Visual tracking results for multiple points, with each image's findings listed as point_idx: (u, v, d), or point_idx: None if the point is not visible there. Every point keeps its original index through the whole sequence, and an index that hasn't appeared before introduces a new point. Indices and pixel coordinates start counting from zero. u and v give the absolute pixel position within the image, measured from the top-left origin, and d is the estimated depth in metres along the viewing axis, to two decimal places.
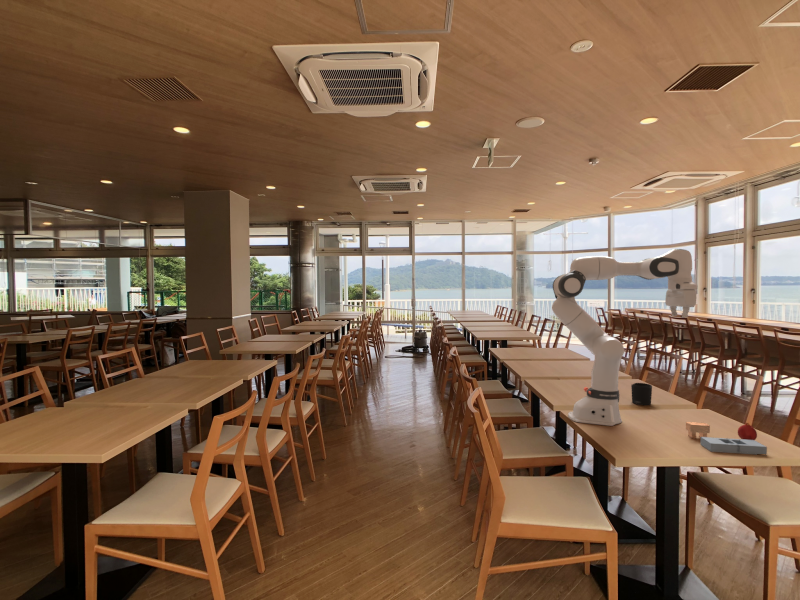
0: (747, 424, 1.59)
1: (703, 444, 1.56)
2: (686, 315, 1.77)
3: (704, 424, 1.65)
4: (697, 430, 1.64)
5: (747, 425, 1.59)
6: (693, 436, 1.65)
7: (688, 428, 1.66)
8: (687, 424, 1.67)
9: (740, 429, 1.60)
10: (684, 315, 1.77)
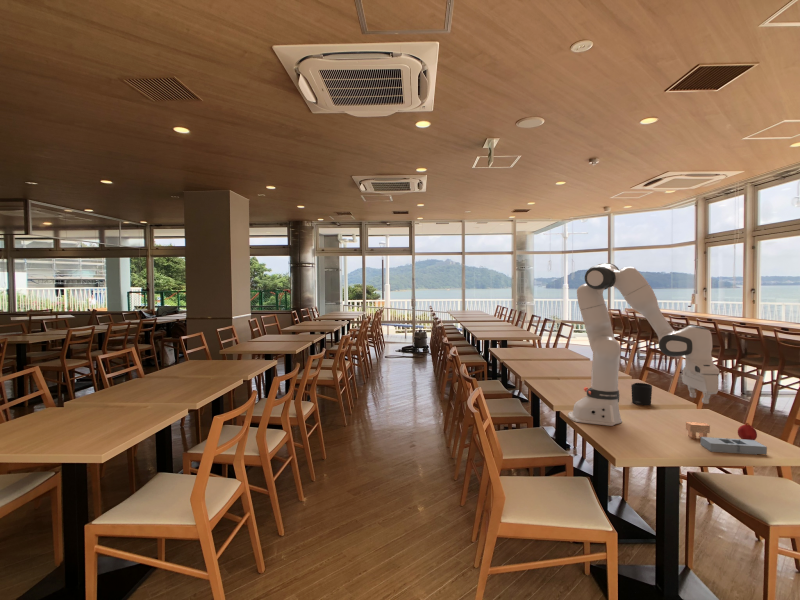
0: (747, 424, 1.59)
1: (703, 444, 1.56)
2: (707, 401, 1.60)
3: (704, 424, 1.65)
4: (697, 430, 1.64)
5: (747, 425, 1.59)
6: (693, 436, 1.65)
7: (688, 428, 1.66)
8: (687, 424, 1.67)
9: (740, 429, 1.60)
10: (705, 401, 1.60)
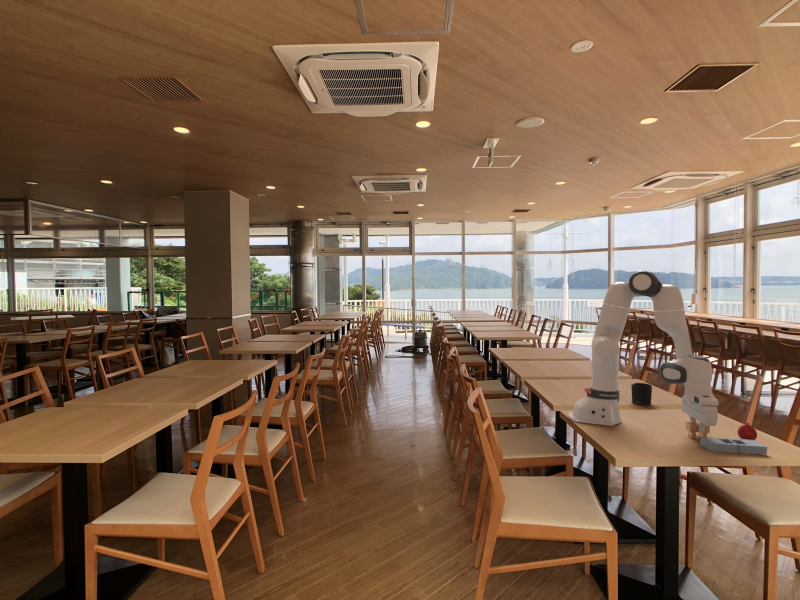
0: (747, 424, 1.59)
1: (703, 444, 1.56)
2: (702, 430, 1.62)
3: None
4: (697, 430, 1.64)
5: (747, 425, 1.59)
6: (693, 436, 1.65)
7: (688, 428, 1.66)
8: (687, 424, 1.67)
9: (740, 429, 1.60)
10: (700, 430, 1.63)
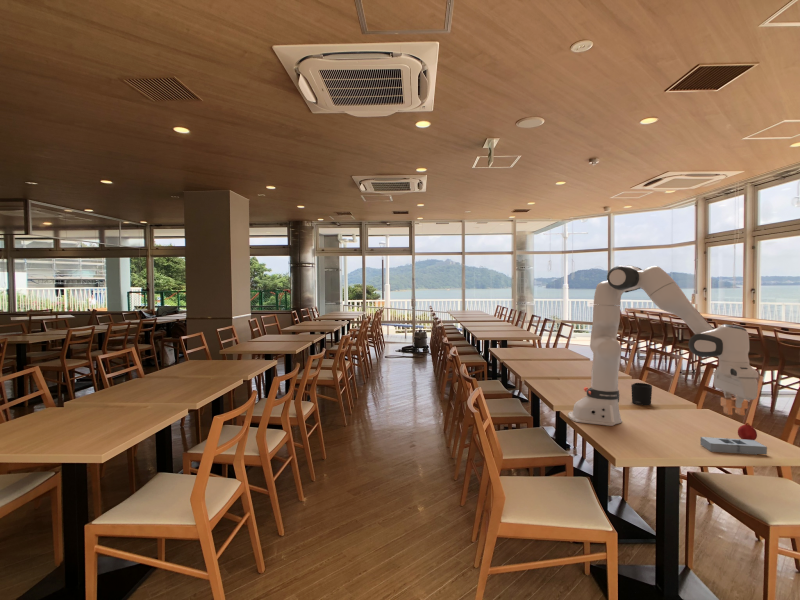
0: (747, 424, 1.59)
1: (703, 444, 1.56)
2: (740, 405, 1.49)
3: None
4: None
5: (747, 425, 1.59)
6: (729, 412, 1.51)
7: (723, 404, 1.53)
8: (722, 399, 1.54)
9: (740, 429, 1.60)
10: (737, 405, 1.49)
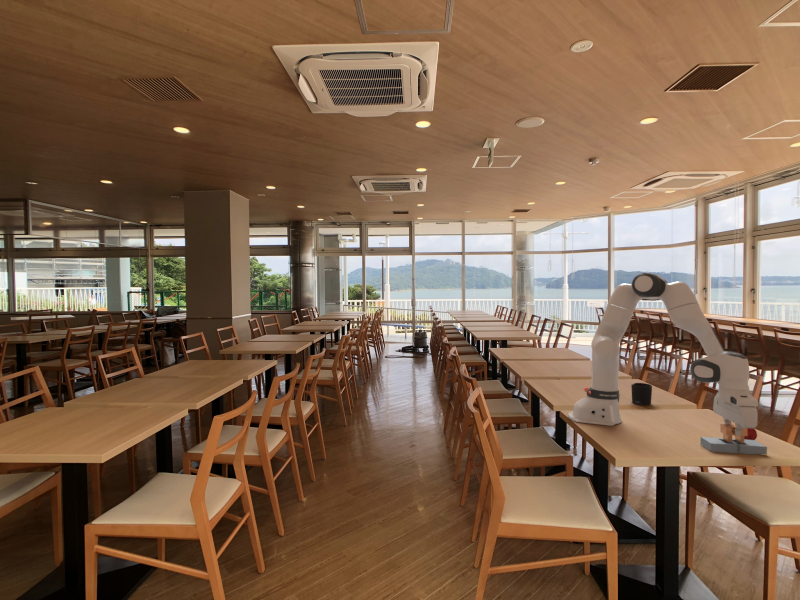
0: None
1: (703, 444, 1.56)
2: (739, 433, 1.50)
3: None
4: (733, 433, 1.51)
5: None
6: (729, 439, 1.52)
7: (723, 431, 1.53)
8: (722, 426, 1.54)
9: None
10: (737, 433, 1.50)
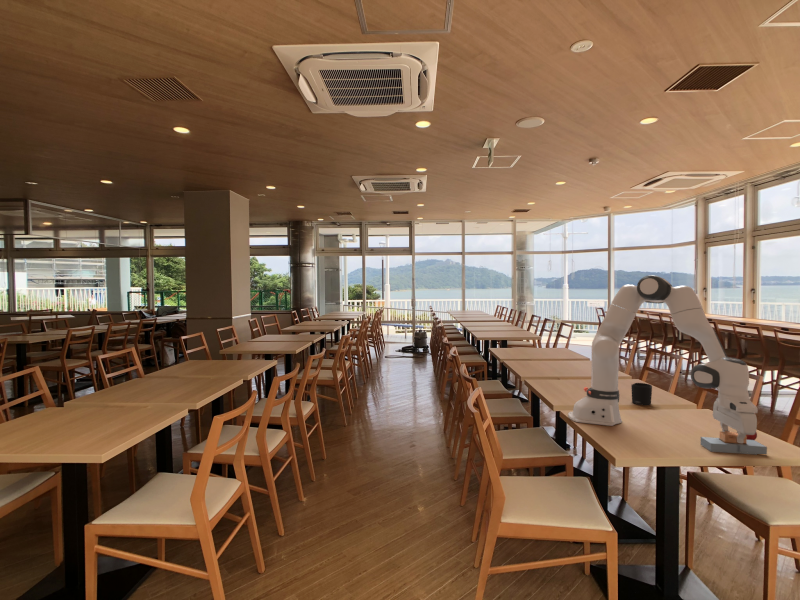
0: None
1: (703, 444, 1.56)
2: (742, 441, 1.48)
3: None
4: (733, 441, 1.51)
5: None
6: None
7: (722, 438, 1.53)
8: (721, 434, 1.54)
9: None
10: (739, 441, 1.48)
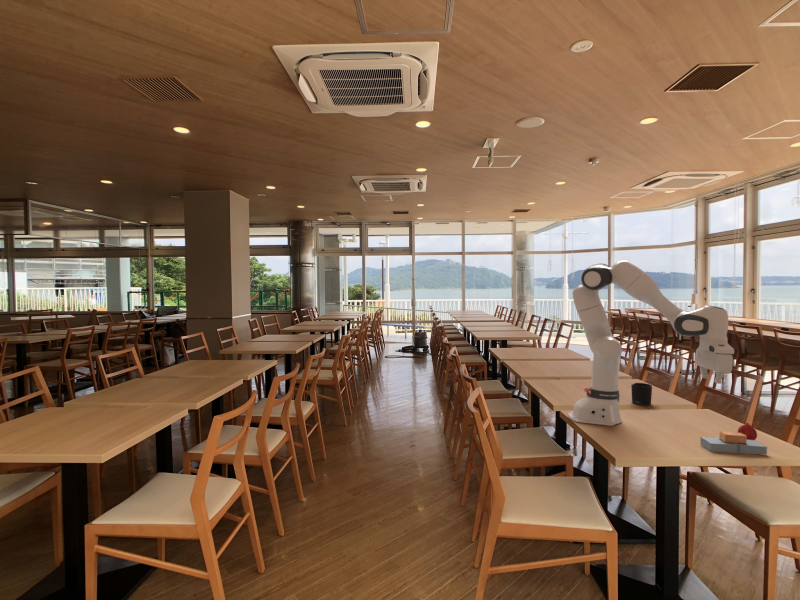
0: (747, 424, 1.59)
1: (703, 444, 1.56)
2: (719, 381, 1.59)
3: (740, 434, 1.52)
4: (733, 441, 1.51)
5: (747, 425, 1.59)
6: None
7: (722, 438, 1.53)
8: (721, 434, 1.54)
9: (740, 429, 1.60)
10: (717, 381, 1.59)
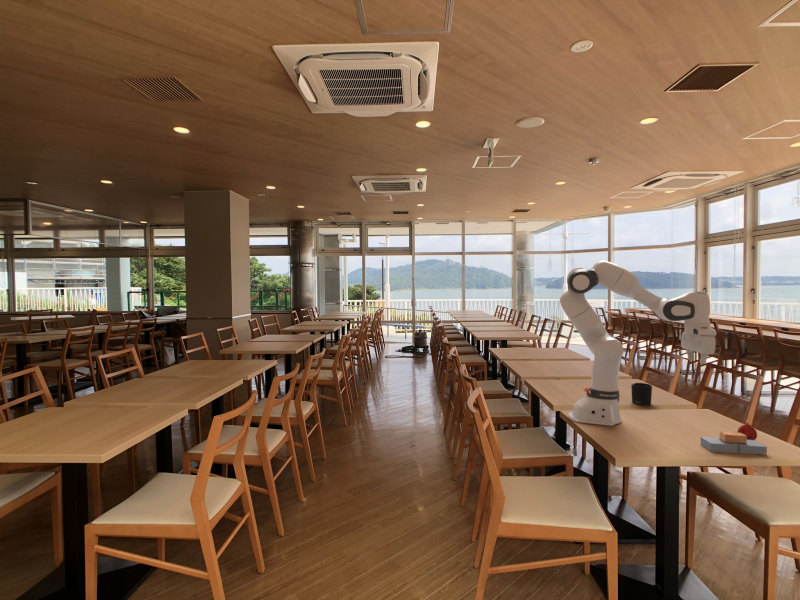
0: (747, 424, 1.59)
1: (703, 444, 1.56)
2: (704, 362, 1.69)
3: (740, 434, 1.52)
4: (733, 441, 1.51)
5: (747, 425, 1.59)
6: None
7: (722, 438, 1.53)
8: (721, 434, 1.54)
9: (740, 429, 1.60)
10: (702, 362, 1.69)
